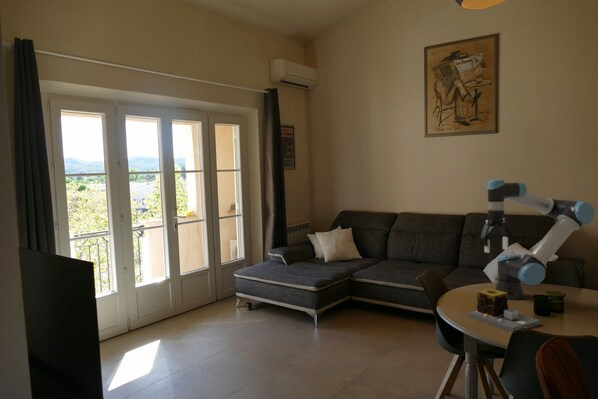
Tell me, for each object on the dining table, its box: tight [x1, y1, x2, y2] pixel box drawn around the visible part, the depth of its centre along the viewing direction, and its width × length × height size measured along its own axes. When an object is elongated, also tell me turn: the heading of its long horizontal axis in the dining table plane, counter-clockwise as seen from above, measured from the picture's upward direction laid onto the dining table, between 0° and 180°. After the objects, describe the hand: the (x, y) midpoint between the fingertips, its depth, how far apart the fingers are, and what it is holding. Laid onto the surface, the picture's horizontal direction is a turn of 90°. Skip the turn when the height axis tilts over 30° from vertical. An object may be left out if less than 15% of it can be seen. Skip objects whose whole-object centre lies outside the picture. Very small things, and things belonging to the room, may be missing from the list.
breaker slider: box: [504, 308, 519, 320], centre depth 194 cm, size 4×4×4 cm
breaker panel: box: [468, 310, 541, 333], centre depth 198 cm, size 24×18×3 cm
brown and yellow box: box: [476, 288, 509, 317], centre depth 203 cm, size 10×10×10 cm
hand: (496, 250), depth 218 cm, fingers open, 13 cm apart
